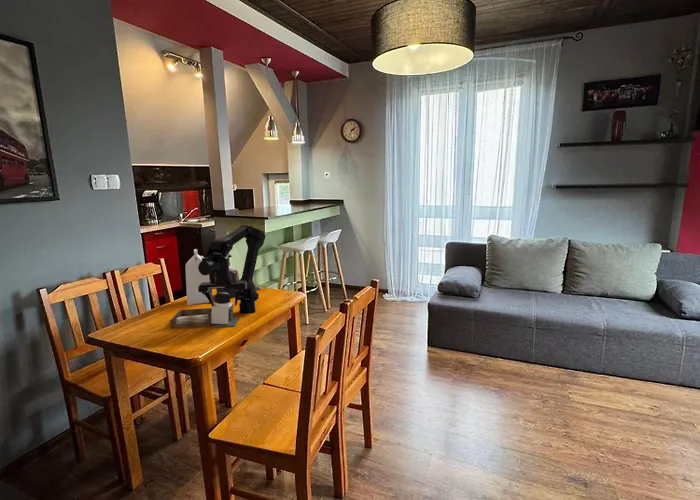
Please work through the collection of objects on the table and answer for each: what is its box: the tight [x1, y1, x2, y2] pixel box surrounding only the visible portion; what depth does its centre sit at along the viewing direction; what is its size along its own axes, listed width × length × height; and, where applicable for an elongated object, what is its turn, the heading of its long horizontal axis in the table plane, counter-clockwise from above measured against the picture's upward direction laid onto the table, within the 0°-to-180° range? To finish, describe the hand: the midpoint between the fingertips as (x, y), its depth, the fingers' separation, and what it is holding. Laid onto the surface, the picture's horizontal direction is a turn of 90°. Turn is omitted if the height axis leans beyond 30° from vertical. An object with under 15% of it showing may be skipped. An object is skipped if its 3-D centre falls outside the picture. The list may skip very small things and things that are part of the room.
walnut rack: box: [169, 307, 213, 329], centre depth 160 cm, size 16×13×4 cm
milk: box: [185, 248, 211, 306], centre depth 188 cm, size 12×12×26 cm
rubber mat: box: [212, 317, 239, 329], centre depth 158 cm, size 9×9×1 cm
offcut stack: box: [176, 314, 209, 324], centre depth 156 cm, size 12×2×4 cm, turn 103°
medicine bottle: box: [211, 293, 234, 325], centre depth 156 cm, size 7×7×12 cm
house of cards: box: [253, 276, 262, 291], centre depth 209 cm, size 9×9×8 cm
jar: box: [215, 265, 240, 298], centre depth 198 cm, size 12×12×15 cm
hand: (224, 306), depth 157 cm, fingers open, 9 cm apart
